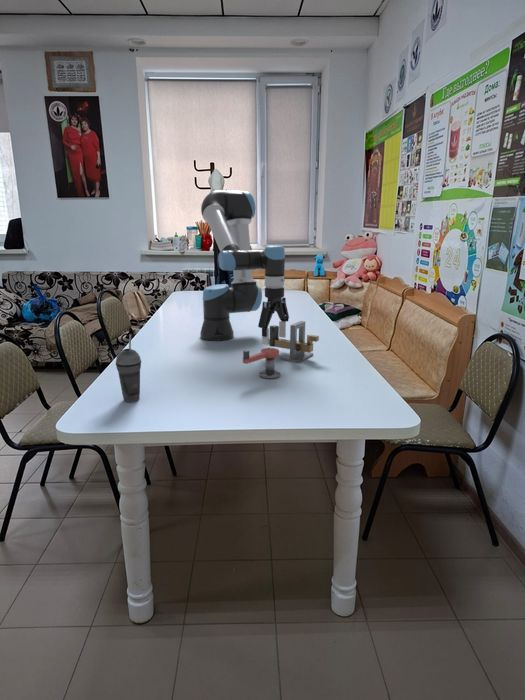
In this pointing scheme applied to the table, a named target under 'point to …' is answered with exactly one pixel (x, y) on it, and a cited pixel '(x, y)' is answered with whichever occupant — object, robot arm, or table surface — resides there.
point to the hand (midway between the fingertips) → (274, 340)
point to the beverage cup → (129, 373)
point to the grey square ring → (294, 354)
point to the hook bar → (284, 343)
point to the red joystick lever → (260, 355)
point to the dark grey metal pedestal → (269, 369)
